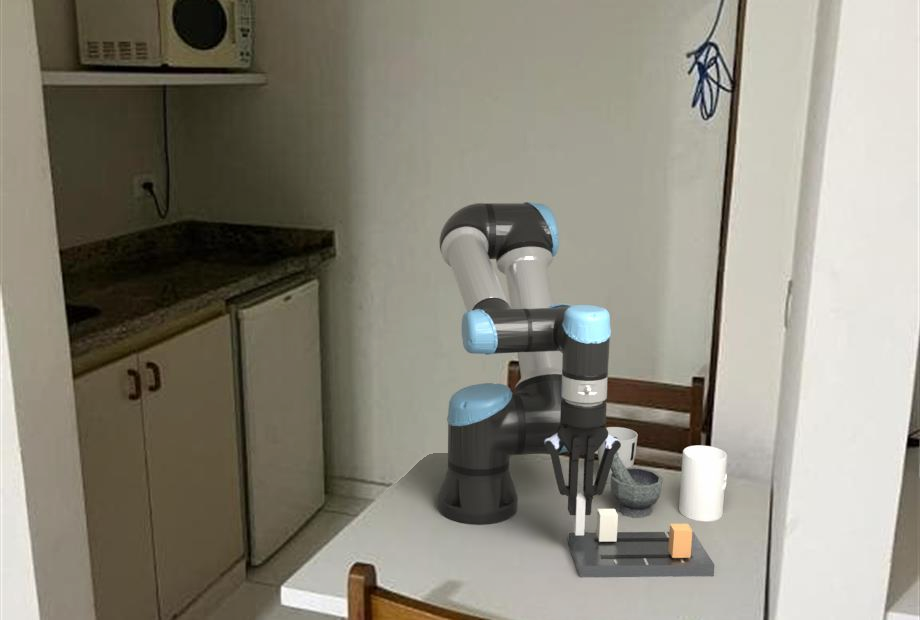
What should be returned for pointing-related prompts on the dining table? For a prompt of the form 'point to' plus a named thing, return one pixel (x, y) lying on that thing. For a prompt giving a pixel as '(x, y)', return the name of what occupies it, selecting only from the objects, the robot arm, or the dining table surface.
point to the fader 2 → (680, 540)
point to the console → (636, 556)
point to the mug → (703, 483)
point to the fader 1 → (607, 525)
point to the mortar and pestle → (634, 488)
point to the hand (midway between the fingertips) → (578, 531)
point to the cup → (625, 451)
